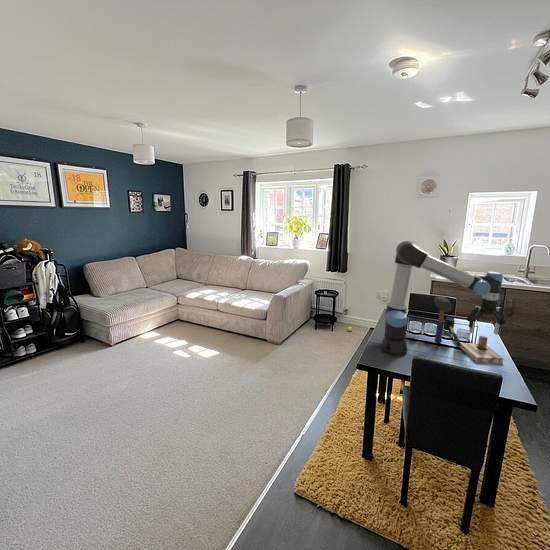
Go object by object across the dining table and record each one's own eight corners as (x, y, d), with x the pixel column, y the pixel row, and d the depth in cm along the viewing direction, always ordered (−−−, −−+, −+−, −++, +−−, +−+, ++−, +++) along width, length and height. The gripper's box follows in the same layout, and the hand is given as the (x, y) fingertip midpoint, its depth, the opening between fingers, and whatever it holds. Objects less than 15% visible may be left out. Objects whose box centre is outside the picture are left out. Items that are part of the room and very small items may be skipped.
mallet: (464, 347, 185) (466, 333, 183) (453, 346, 186) (455, 332, 184) (451, 329, 212) (453, 316, 210) (442, 328, 214) (443, 316, 212)
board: (475, 362, 167) (476, 357, 167) (459, 347, 185) (460, 342, 184) (502, 363, 166) (503, 358, 165) (483, 348, 184) (484, 343, 183)
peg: (479, 354, 176) (481, 338, 174) (475, 350, 180) (477, 335, 178) (486, 354, 176) (489, 338, 174) (482, 351, 180) (485, 335, 178)
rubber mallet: (448, 347, 184) (454, 301, 178) (435, 347, 185) (441, 300, 179) (440, 339, 196) (446, 295, 190) (428, 338, 197) (433, 294, 191)
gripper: (470, 299, 168) (464, 334, 173) (517, 302, 166) (510, 337, 171) (463, 295, 175) (457, 329, 180) (509, 297, 173) (501, 332, 178)
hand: (483, 333), depth 176 cm, fingers open, 13 cm apart
